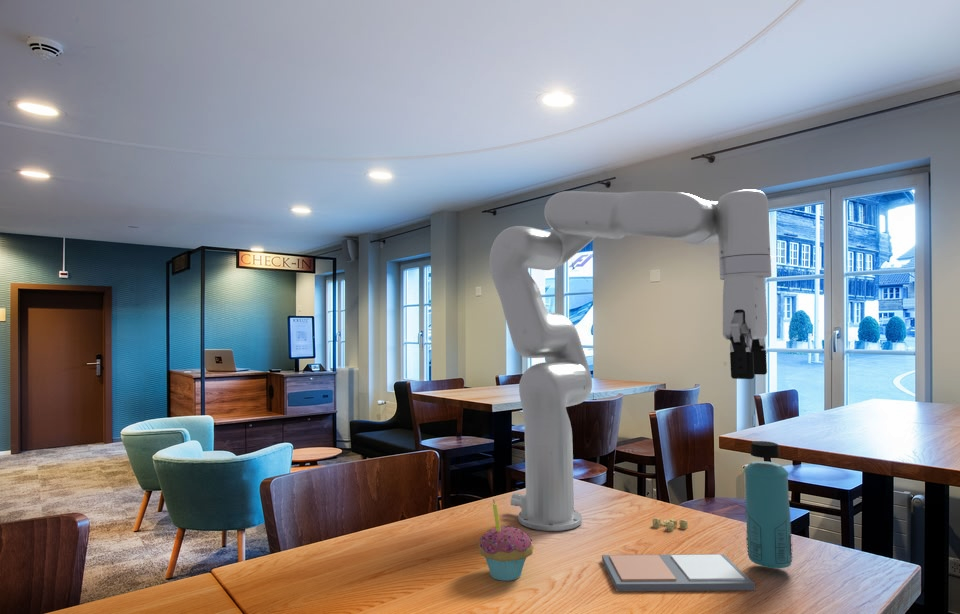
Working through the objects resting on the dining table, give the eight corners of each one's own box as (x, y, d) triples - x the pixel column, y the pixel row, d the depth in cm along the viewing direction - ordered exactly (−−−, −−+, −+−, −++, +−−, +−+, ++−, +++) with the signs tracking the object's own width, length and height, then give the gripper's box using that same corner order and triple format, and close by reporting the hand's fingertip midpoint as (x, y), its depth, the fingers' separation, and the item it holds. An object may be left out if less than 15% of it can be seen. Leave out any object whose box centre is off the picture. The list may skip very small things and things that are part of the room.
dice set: (689, 531, 111) (689, 521, 111) (671, 536, 108) (671, 526, 108) (668, 523, 115) (668, 514, 115) (650, 529, 112) (650, 518, 113)
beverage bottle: (799, 580, 87) (794, 446, 88) (752, 577, 89) (748, 445, 90) (785, 563, 94) (781, 438, 95) (741, 560, 95) (738, 437, 96)
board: (616, 591, 85) (616, 582, 85) (602, 561, 96) (602, 553, 96) (754, 590, 84) (754, 581, 84) (724, 560, 95) (723, 552, 95)
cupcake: (494, 590, 85) (493, 508, 86) (469, 569, 93) (468, 494, 93) (543, 578, 89) (542, 500, 90) (515, 559, 97) (514, 487, 97)
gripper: (733, 274, 102) (737, 372, 101) (705, 266, 88) (710, 380, 87) (780, 271, 97) (785, 373, 97) (759, 262, 84) (764, 381, 83)
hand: (749, 376), depth 92 cm, fingers open, 9 cm apart
